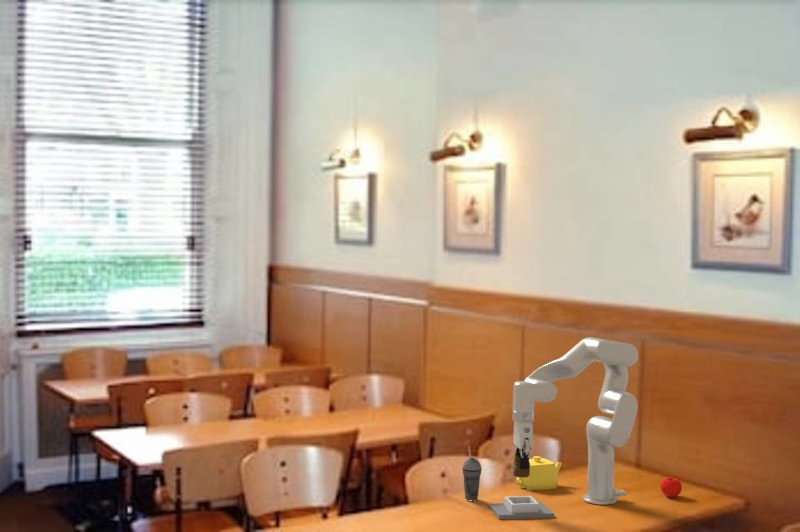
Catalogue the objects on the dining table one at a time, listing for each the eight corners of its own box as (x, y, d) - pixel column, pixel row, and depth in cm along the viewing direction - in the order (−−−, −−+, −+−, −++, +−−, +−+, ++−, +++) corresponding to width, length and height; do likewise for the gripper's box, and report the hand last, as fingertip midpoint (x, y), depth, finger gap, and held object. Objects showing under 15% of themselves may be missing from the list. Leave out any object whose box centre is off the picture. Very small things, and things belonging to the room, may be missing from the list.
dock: (542, 506, 355) (542, 494, 354) (554, 517, 341) (554, 504, 341) (489, 507, 351) (489, 495, 351) (498, 519, 338) (499, 506, 337)
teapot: (553, 480, 391) (554, 451, 391) (568, 488, 380) (569, 458, 379) (508, 484, 385) (509, 454, 384) (523, 492, 373) (523, 461, 373)
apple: (659, 498, 367) (660, 479, 367) (660, 493, 375) (660, 474, 374) (681, 500, 365) (682, 481, 365) (681, 495, 372) (682, 476, 372)
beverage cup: (479, 503, 357) (481, 449, 357) (460, 501, 359) (461, 448, 358) (482, 497, 364) (483, 444, 364) (463, 496, 366) (464, 443, 365)
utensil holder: (530, 474, 348) (531, 441, 347) (528, 478, 342) (529, 445, 341) (514, 473, 349) (514, 440, 349) (512, 477, 343) (513, 443, 343)
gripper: (540, 421, 337) (538, 472, 337) (526, 411, 354) (524, 460, 354) (519, 421, 336) (518, 472, 336) (506, 411, 353) (505, 461, 353)
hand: (521, 466), depth 345 cm, fingers closed on utensil holder, 5 cm apart
